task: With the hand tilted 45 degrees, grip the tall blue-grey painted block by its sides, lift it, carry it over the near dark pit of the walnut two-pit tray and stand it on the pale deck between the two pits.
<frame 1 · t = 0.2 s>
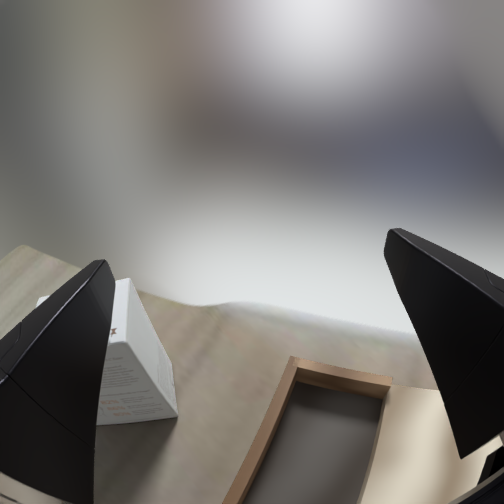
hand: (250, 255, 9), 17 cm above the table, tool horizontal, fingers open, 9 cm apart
small box: (133, 397, 22), on the table
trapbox: (446, 479, 13), on the table
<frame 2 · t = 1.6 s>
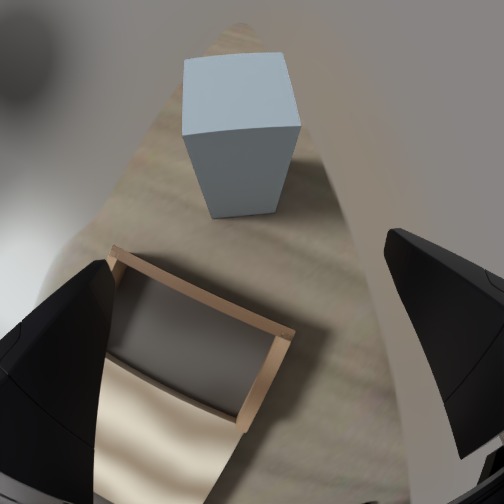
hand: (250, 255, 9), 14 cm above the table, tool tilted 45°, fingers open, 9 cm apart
block: (240, 186, 24), on the table
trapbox: (136, 445, 19), on the table
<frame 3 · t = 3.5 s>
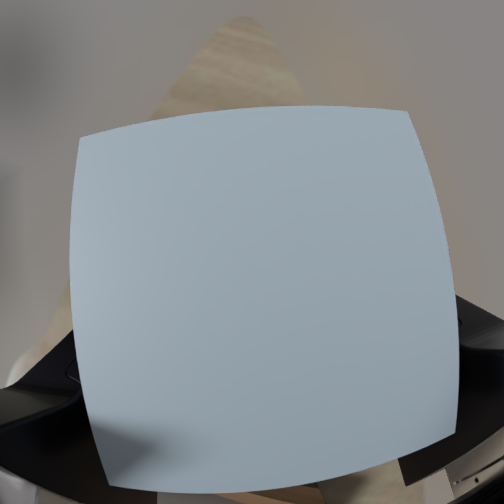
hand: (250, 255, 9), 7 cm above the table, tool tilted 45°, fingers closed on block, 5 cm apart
block: (250, 303, 15), on the table, touching gripper
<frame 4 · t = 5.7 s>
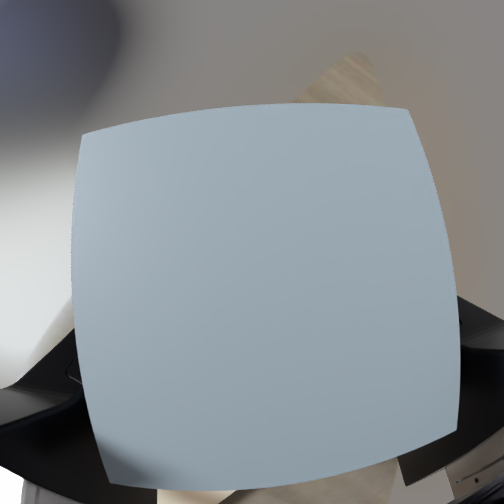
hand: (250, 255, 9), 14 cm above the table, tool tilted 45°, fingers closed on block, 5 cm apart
block: (251, 303, 15), point 7 cm above the table, touching gripper
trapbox: (156, 447, 20), on the table
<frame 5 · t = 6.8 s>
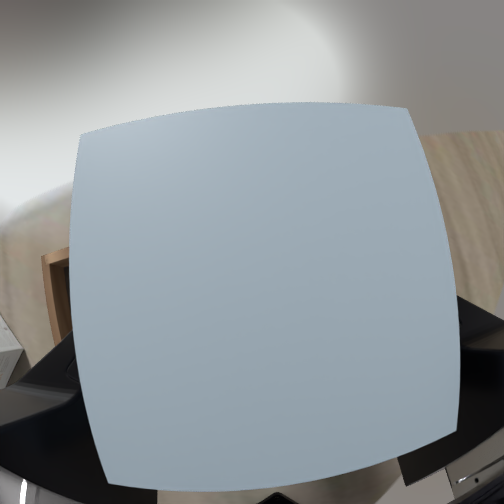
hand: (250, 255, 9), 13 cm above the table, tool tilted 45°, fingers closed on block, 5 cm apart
block: (251, 303, 15), point 7 cm above the table, touching gripper
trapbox: (245, 305, 22), on the table
when the fingers open (10 cm above the table, at t = 7.9 s): block drops 1 cm, resting on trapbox.
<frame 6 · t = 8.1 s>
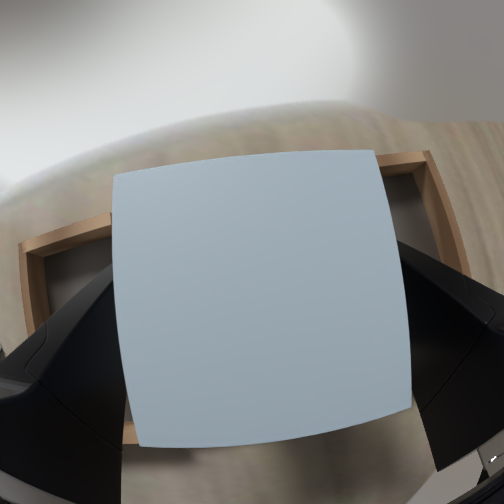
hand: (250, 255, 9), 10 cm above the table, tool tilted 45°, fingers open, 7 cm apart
block: (250, 303, 16), point 2 cm above the table, touching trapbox
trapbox: (249, 304, 18), on the table
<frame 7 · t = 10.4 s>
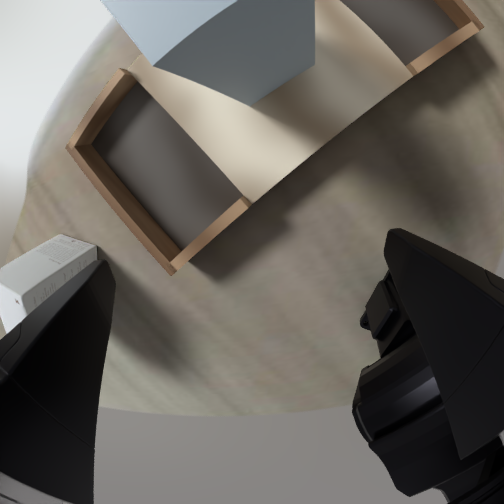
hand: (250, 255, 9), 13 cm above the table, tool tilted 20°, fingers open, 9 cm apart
block: (259, 56, 16), point 2 cm above the table, touching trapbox
small box: (82, 271, 28), on the table
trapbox: (264, 63, 17), on the table
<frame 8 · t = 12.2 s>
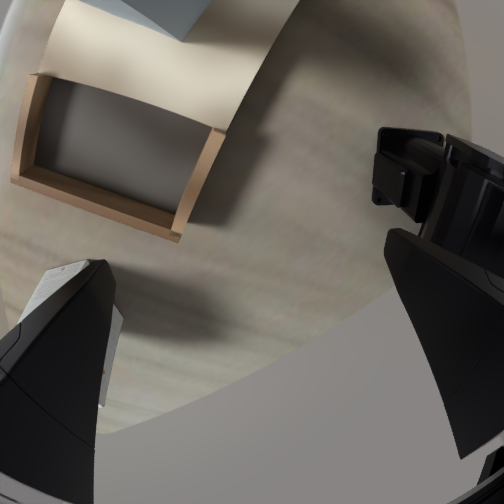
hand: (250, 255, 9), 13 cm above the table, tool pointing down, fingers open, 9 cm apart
small box: (86, 293, 26), on the table
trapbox: (174, 1, 13), on the table
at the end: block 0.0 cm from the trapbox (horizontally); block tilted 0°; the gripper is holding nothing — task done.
